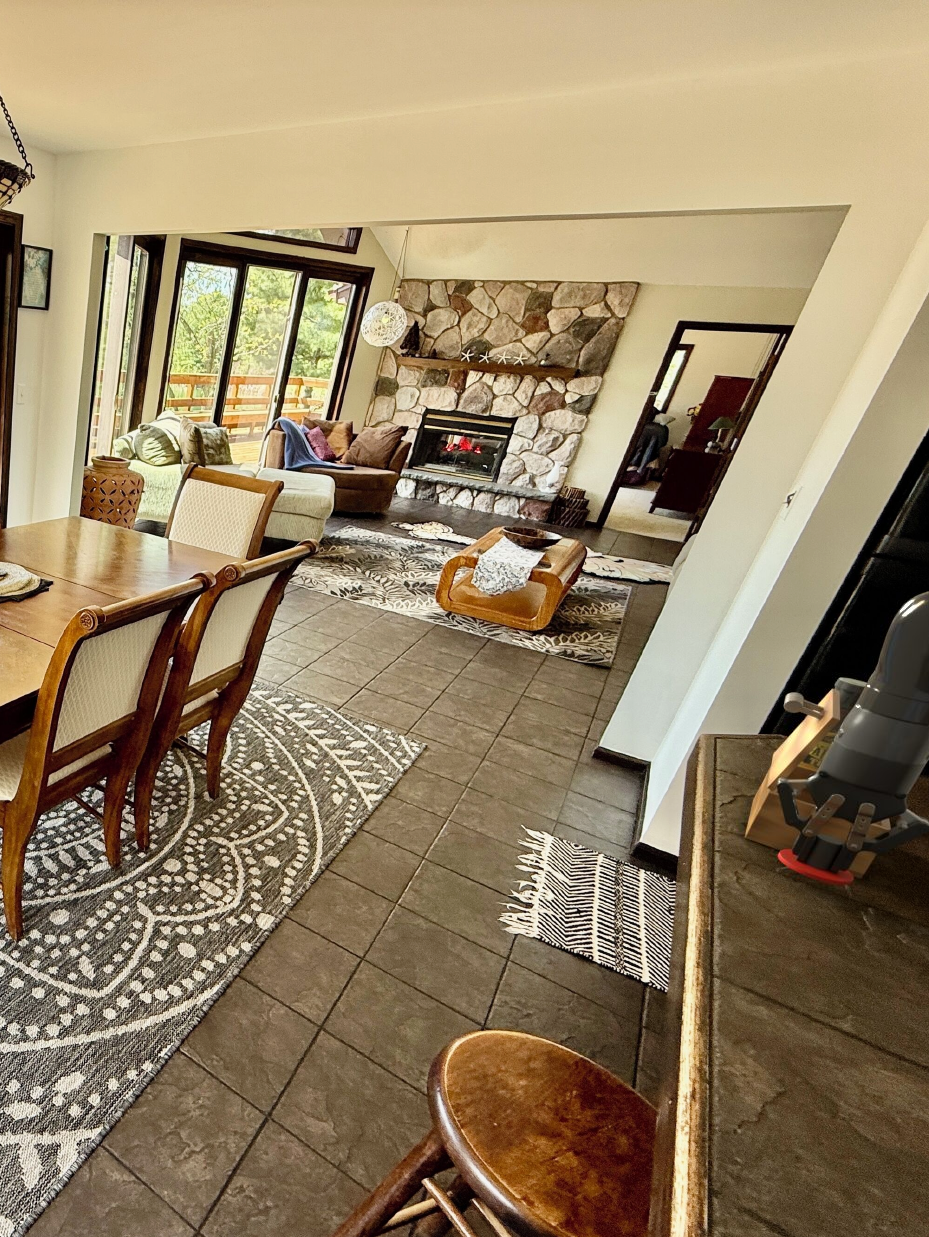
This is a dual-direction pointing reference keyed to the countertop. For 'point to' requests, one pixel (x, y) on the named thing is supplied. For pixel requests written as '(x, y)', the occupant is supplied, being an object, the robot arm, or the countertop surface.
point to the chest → (777, 834)
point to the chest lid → (804, 733)
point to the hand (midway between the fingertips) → (815, 863)
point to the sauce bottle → (848, 699)
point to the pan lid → (819, 861)
